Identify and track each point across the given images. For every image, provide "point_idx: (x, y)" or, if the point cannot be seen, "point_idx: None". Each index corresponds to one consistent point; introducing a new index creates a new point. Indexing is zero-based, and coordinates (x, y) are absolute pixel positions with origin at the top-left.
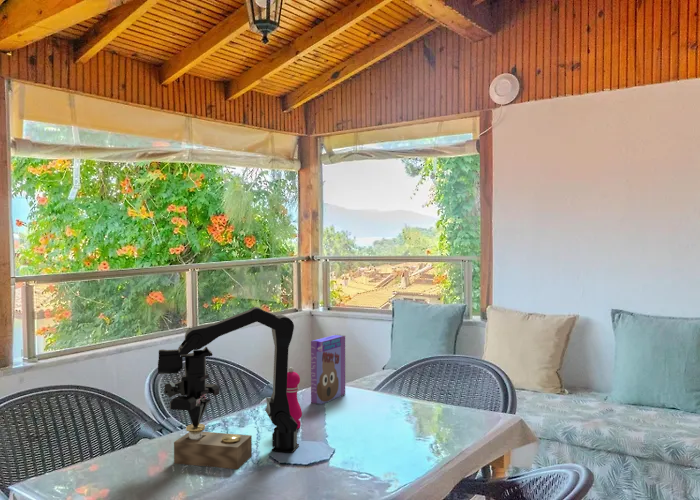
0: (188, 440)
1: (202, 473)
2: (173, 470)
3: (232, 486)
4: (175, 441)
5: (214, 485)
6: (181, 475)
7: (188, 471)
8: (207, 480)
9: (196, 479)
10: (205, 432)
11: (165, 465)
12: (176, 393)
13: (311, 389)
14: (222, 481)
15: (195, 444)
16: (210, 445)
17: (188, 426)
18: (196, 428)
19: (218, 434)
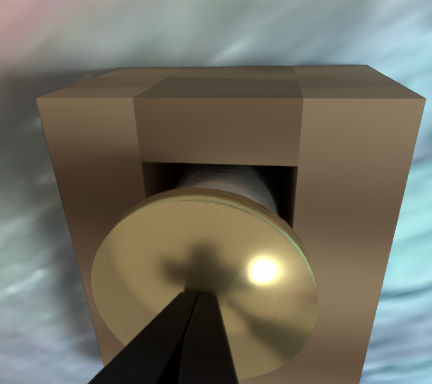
0: (122, 208)
1: (71, 266)
2: (36, 122)
3: (30, 380)
4: (52, 105)
5: (6, 335)
6: (9, 191)
7: (61, 202)
8: (26, 304)
9: (11, 266)
10: (366, 263)
11: (71, 28)
12: None
13: None
14: (45, 348)
15: (84, 280)
16: (104, 364)
17: (167, 233)
18: (134, 334)
19: (325, 361)
